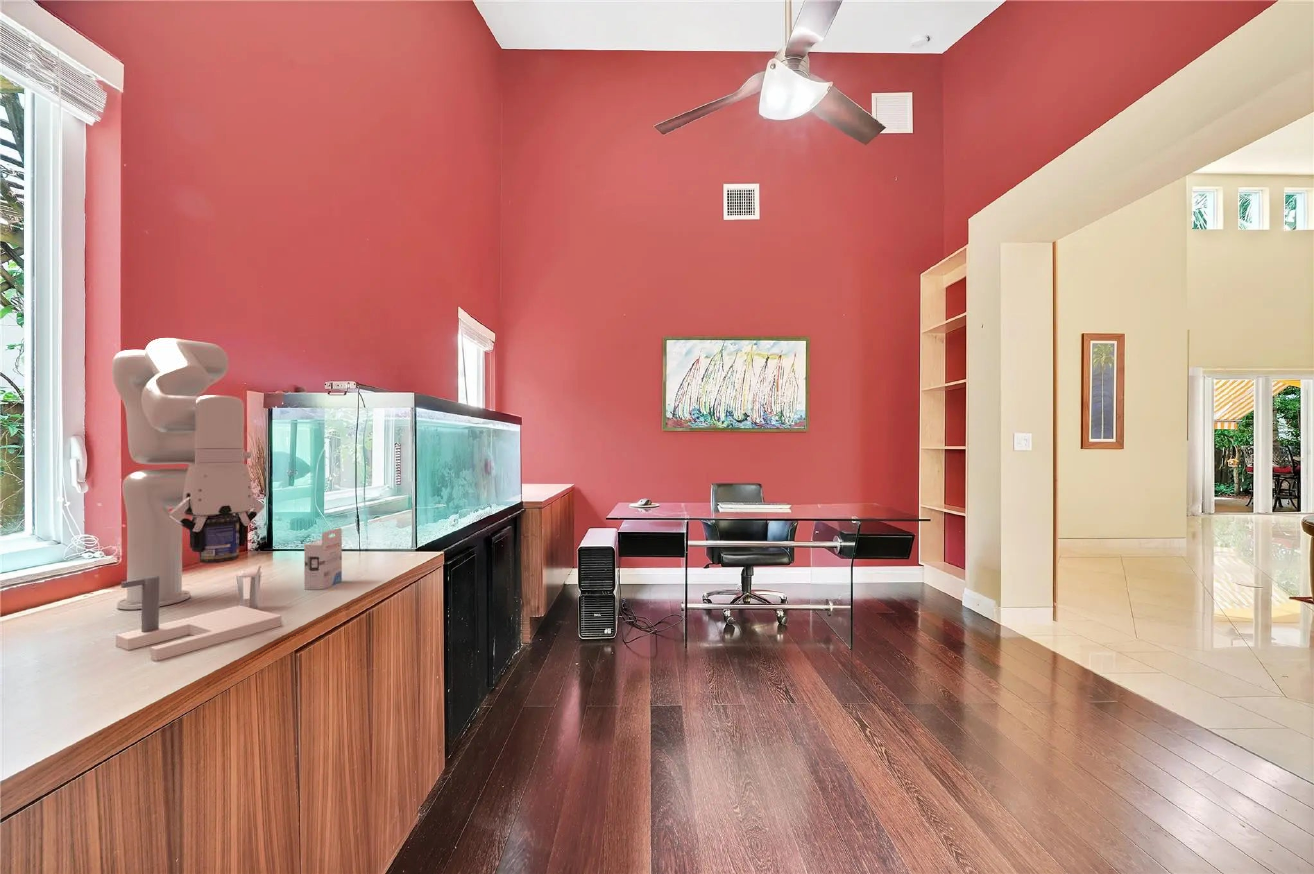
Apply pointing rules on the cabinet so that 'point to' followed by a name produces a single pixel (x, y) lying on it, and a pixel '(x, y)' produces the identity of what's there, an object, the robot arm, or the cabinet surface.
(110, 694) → the cabinet surface
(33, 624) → the cabinet surface
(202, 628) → the forked stand with post
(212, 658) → the cabinet surface
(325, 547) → the ink box
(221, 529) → the pill bottle
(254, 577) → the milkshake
